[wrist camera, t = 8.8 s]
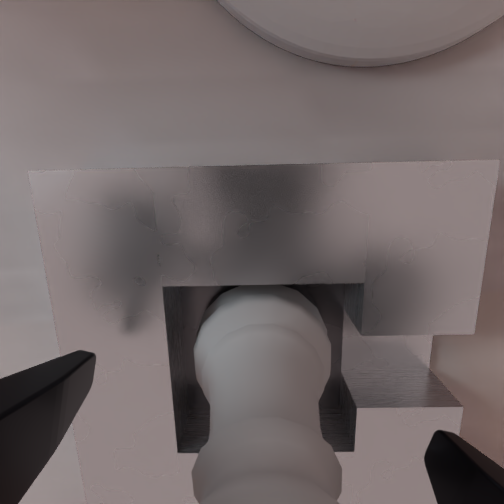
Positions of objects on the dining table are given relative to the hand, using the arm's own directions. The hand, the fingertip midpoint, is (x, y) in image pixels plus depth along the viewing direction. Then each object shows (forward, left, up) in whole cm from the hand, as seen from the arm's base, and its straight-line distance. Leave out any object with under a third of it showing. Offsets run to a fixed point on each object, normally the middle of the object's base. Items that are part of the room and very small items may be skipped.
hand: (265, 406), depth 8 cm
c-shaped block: (0, 0, -4) cm, 4 cm away
